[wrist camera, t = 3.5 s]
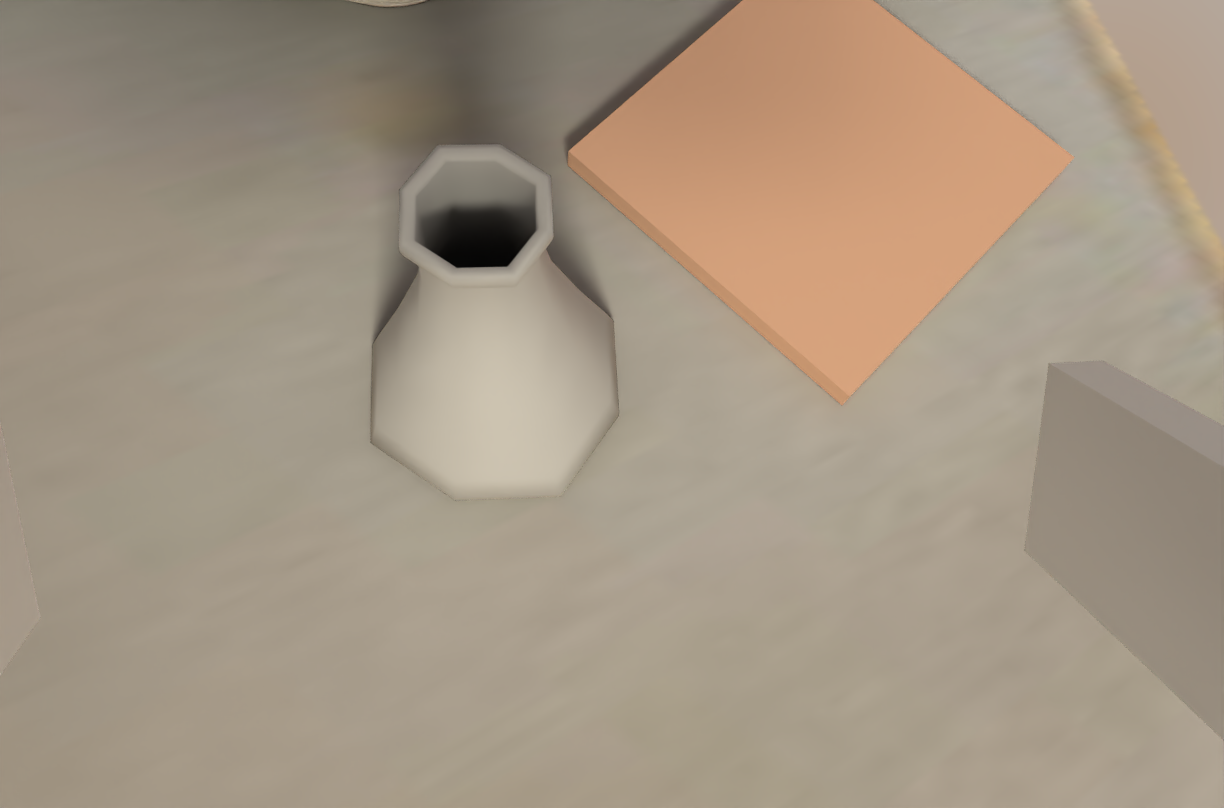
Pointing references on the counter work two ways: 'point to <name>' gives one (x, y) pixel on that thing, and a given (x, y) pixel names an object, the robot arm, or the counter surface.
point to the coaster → (820, 175)
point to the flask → (489, 337)
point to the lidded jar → (389, 2)
